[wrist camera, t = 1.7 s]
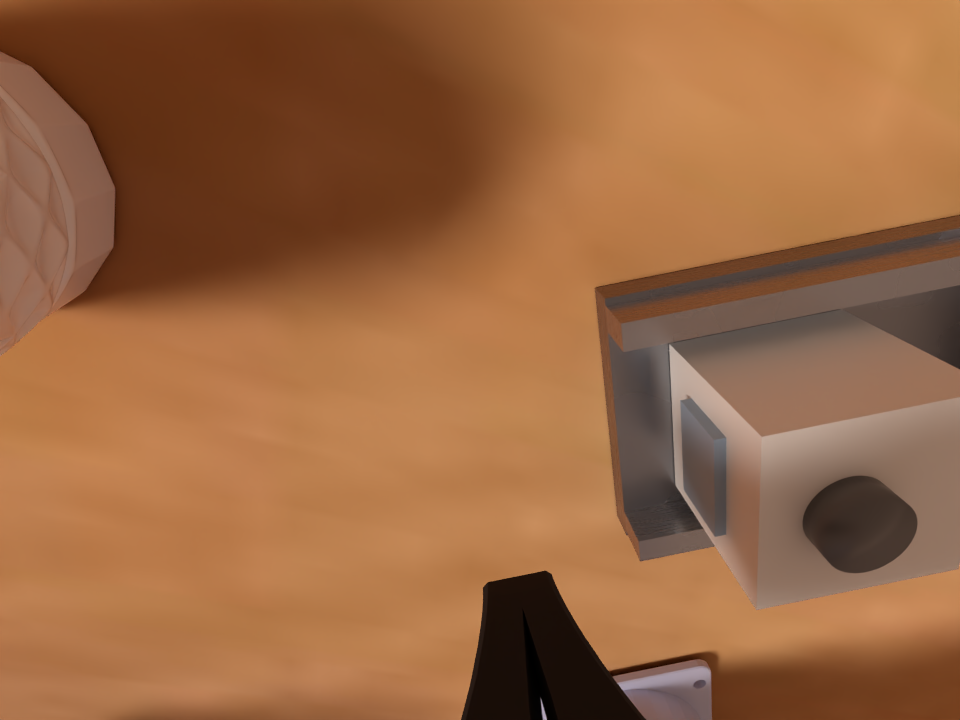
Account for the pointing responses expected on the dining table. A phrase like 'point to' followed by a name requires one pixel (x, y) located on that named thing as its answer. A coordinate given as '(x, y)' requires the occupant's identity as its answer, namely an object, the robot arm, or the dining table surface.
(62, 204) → the white cup
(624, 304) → the module housing
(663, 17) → the dining table surface
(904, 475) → the block
